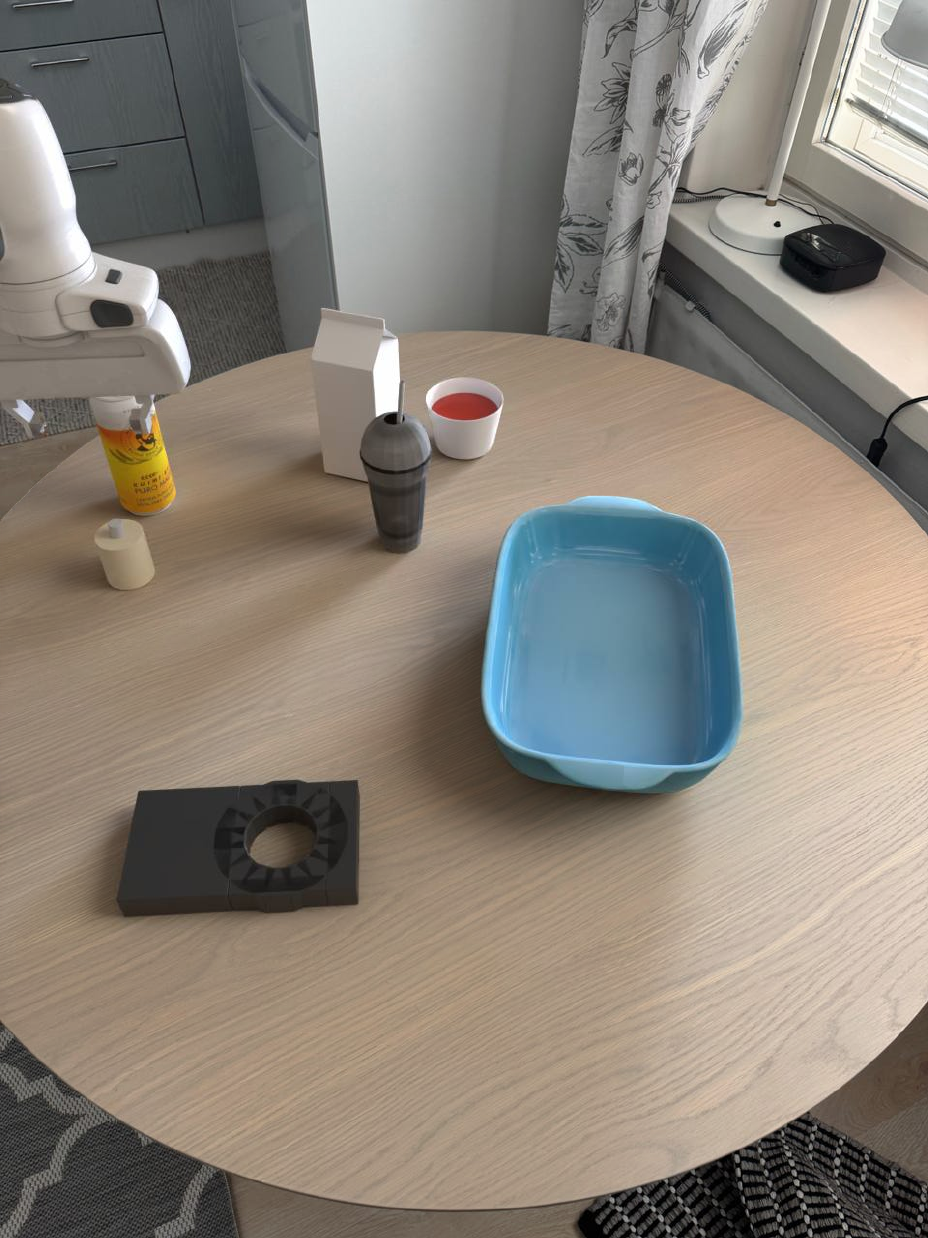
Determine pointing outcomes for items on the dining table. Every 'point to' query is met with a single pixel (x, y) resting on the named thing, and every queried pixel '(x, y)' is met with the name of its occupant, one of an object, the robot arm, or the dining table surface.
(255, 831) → the board
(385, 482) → the beverage cup
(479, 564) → the dining table surface
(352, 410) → the milk carton
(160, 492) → the beer can
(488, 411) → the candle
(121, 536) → the stopper
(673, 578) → the casserole dish
